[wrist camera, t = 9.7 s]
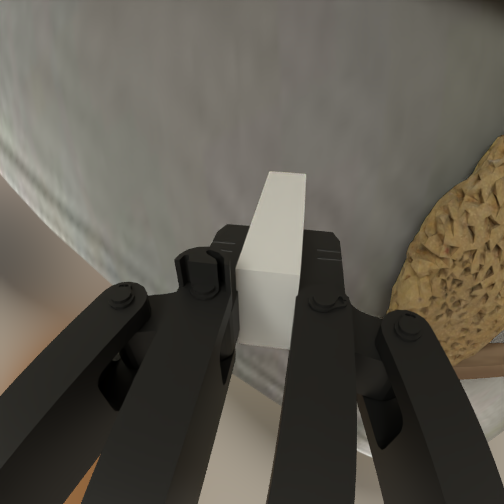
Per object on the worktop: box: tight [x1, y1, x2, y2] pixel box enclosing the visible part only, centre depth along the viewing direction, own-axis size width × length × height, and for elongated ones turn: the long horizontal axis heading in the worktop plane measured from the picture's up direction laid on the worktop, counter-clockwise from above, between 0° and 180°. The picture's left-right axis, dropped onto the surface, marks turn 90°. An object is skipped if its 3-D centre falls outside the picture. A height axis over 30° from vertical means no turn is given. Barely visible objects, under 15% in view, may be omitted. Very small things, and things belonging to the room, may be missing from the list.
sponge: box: [386, 135, 504, 366], centre depth 17 cm, size 13×8×20 cm
